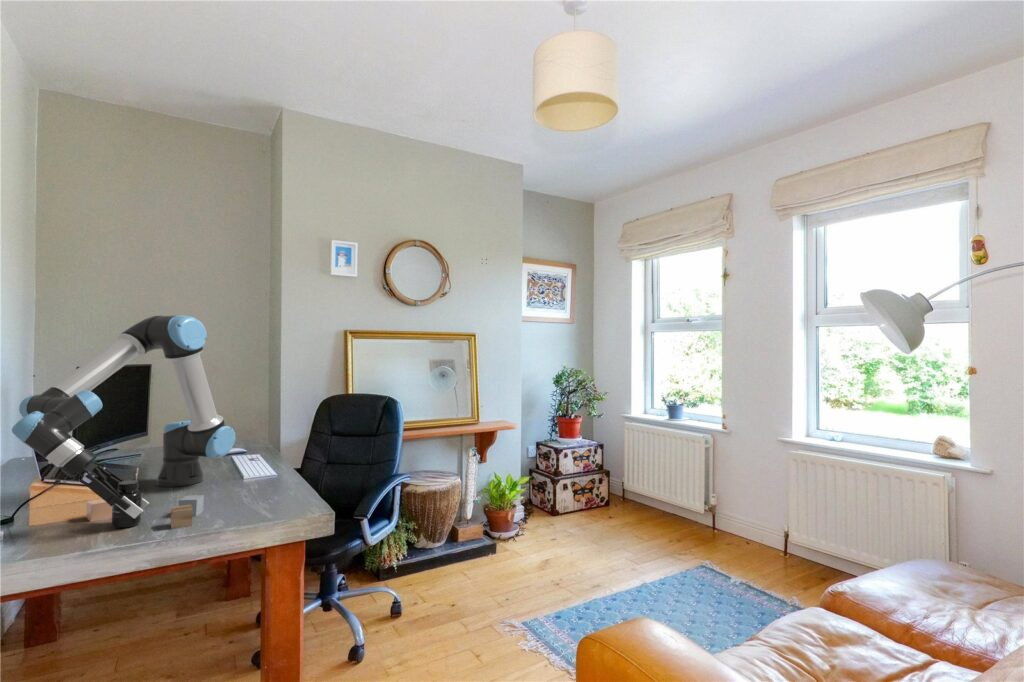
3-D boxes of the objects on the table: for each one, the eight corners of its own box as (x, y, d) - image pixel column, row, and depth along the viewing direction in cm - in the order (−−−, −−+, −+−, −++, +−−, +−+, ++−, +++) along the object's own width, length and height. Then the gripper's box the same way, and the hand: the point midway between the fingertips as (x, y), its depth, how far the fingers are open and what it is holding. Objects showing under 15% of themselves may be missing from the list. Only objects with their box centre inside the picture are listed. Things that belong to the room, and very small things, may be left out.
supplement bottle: (106, 529, 143) (108, 485, 143) (118, 521, 149) (119, 479, 150) (135, 527, 145) (136, 484, 145) (145, 519, 151) (146, 478, 151)
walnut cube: (170, 524, 149) (171, 507, 149) (190, 521, 152) (191, 504, 152) (171, 529, 145) (171, 511, 145) (191, 526, 148) (192, 509, 148)
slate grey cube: (185, 511, 161) (186, 495, 161) (203, 511, 162) (203, 495, 162) (178, 516, 156) (178, 500, 156) (196, 516, 157) (196, 499, 157)
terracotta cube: (86, 518, 153) (87, 501, 153) (107, 514, 157) (108, 497, 157) (90, 521, 150) (91, 504, 150) (111, 517, 153) (112, 501, 154)
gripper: (73, 461, 150) (138, 511, 156) (45, 476, 132) (121, 532, 138) (96, 441, 152) (160, 491, 159) (72, 454, 134) (145, 510, 141)
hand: (141, 510), depth 149 cm, fingers closed on supplement bottle, 7 cm apart
